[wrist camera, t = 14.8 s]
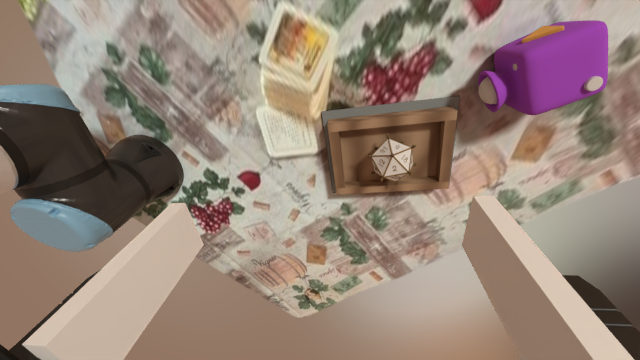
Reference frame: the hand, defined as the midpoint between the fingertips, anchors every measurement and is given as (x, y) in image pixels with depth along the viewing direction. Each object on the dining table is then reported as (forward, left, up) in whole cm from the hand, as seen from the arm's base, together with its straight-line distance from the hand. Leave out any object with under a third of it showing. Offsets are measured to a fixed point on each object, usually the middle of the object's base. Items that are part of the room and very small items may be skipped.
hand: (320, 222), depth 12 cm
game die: (+7, -13, -38) cm, 41 cm away
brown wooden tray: (+7, -14, -38) cm, 41 cm away
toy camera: (+27, -2, -39) cm, 47 cm away
